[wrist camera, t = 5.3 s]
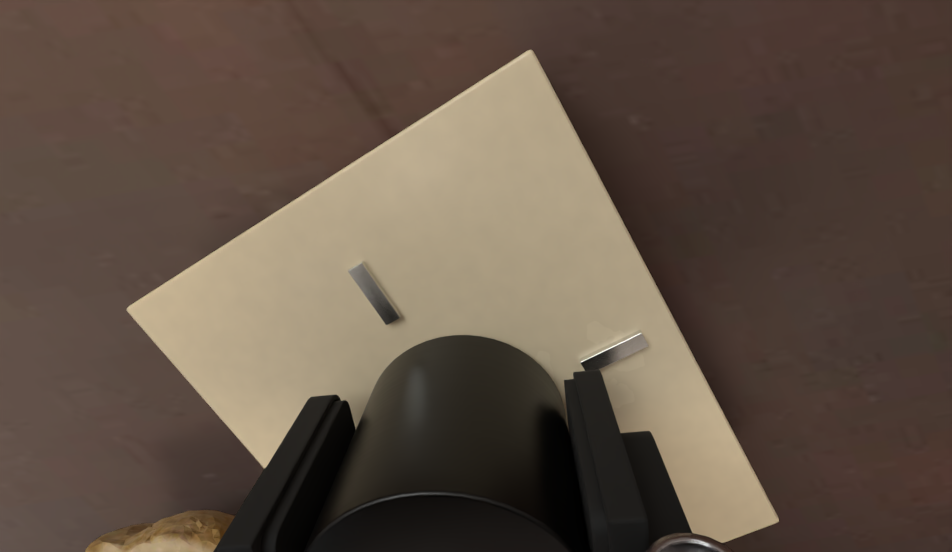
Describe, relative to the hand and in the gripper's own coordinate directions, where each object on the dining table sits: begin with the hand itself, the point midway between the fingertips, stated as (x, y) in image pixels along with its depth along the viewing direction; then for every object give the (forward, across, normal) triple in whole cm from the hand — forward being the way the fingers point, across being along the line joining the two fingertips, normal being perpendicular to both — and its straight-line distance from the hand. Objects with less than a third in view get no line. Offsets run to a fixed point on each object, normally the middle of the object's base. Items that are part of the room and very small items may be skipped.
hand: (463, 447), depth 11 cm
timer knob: (+1, 0, 0) cm, 1 cm away
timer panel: (+4, 0, 0) cm, 4 cm away
